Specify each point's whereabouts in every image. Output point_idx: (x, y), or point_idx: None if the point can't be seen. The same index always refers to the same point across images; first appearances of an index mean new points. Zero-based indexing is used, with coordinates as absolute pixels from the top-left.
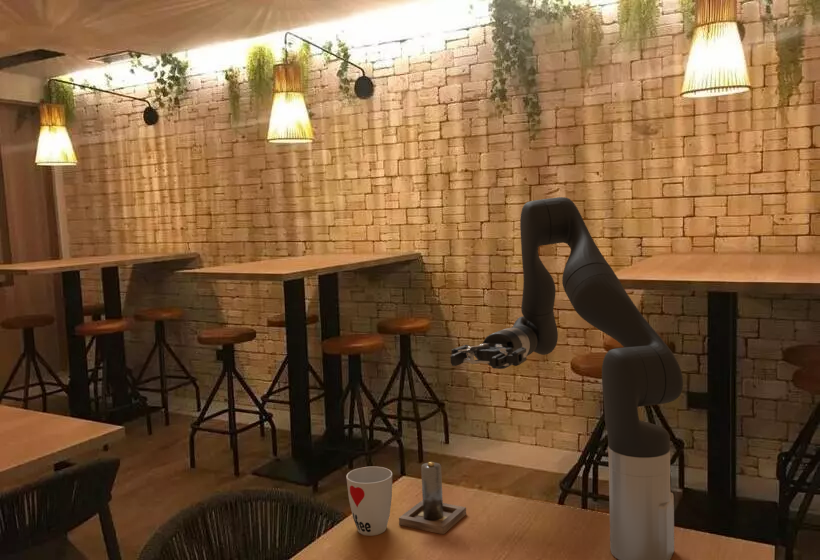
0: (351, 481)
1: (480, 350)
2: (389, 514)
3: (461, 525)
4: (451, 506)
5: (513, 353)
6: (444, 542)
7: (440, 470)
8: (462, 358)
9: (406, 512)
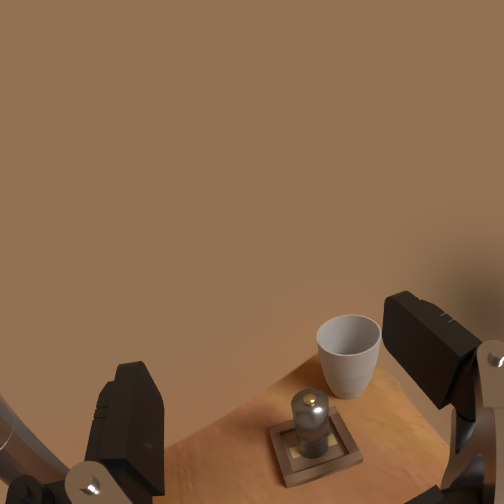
0: (343, 315)
1: (434, 499)
2: (330, 386)
3: (267, 462)
4: (307, 472)
5: (34, 478)
6: (254, 422)
7: (293, 413)
8: (442, 384)
9: (341, 419)
